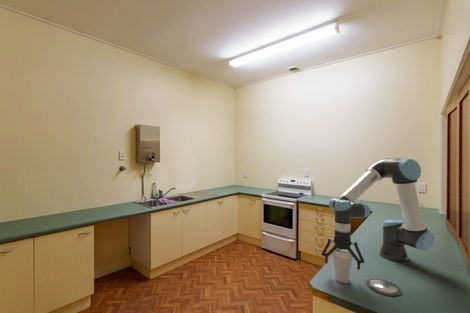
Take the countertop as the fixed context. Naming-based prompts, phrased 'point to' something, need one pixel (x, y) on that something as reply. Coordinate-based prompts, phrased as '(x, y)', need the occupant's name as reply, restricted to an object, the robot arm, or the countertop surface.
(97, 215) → the countertop surface
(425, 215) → the countertop surface
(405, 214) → the robot arm
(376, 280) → the plate
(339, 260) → the coffee cup
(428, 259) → the countertop surface
